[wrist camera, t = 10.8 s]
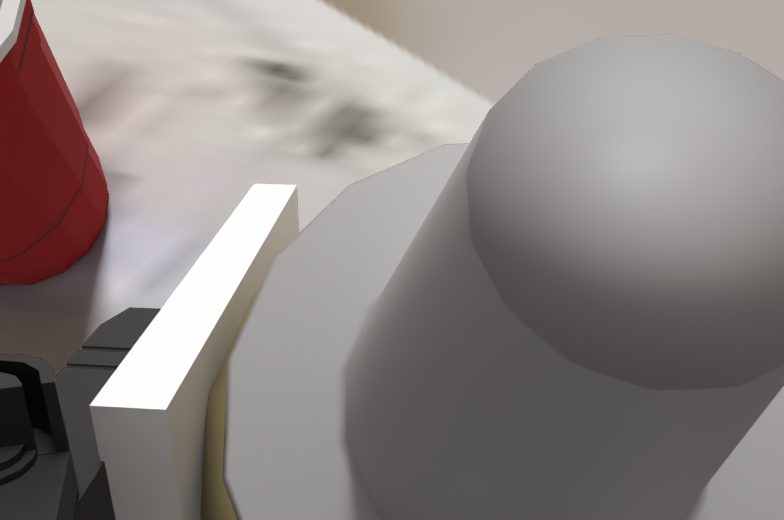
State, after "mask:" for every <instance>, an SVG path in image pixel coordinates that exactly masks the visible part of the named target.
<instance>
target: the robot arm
mask: <svg viewBox="0 0 784 520" xmlns="http://www.w3.org/2000/svg"><path fill="white" fill-rule="evenodd" d="M298 234H299V218H298V197H297V185H278V184H254V185H253V186H252V188H251V189H250V190H249V192H248V193H247V194H246V196H245V197H244V198H243V200H242V201H241V202H240V204H239V205H238V206H237V208H236V209H235V210H234V212H233V213H232V214H231V216H230V217H229V218H228V220H227V221H226V222H225V224H224V225H223V227H222V228H221V229H220V231H219V232H218V233H217V235H216V236H215V237H214V239H213V240H212V241H211V243H210V244H209V245H208V247H207V248H206V249H205V251H204V252H203V253H202V255H201V256H200V257H199V259H198V260H197V261H196V263H195V264H194V265H193V267H192V268H191V270H190V271H189V272H188V274H187V275H186V276H185V278H184V279H183V280H182V282H181V283H180V284H179V286H178V287H177V288H176V290H175V291H174V292H173V294H172V295H171V296H170V298H169V299H168V300H167V302H166V303H165V304H164V306H163V307H162V309H153V308H131V307H130V308H128V309H126V310H125V311H123V312H121V313H120V314H118V315H116V316H115V317H113V318H111V319H109V320H108V321H106V322H104V323H103V324H101V325H100V326H99V327H98V328H97V329H96V330H95V332H94V333H93V334H92V335H91V336H90V337H89V339H88V340H87V341H86V342H85V343H84V344H83V346H82V350H78V351H77V352H76V354H75V355H74V356H73V357H72V358H71V359H70V361H69V362H68V363H67V368H63V369H62V370H61V371H60V372H59V373H58V375H57V376H56V377H55V375H54V370H53V368H52V367H51V366H50V365H48V364H47V363H46V362H44V361H43V360H42V359H40V358H35V357H31V356H27V355H22V354H2V355H0V520H201V517H200V511H201V492H202V473H203V455H204V436H205V418H206V410H207V401H208V395H209V391H210V389H211V387H212V385H213V382H214V380H215V378H216V376H217V374H218V371H219V369H220V367H221V365H222V363H223V360H224V358H225V356H226V354H227V352H228V349H229V347H230V345H231V343H232V341H233V338H234V336H235V334H236V332H237V330H238V327H239V325H240V323H241V321H242V319H243V316H244V314H245V312H246V310H247V308H248V305H249V303H250V301H251V299H252V297H253V296H254V295H255V294H256V293H257V292H258V291H259V289H260V287H261V284H262V282H263V280H264V278H265V276H266V273H267V271H268V269H269V267H270V265H271V262H272V260H273V258H275V257H276V256H277V255H278V254H279V253H280V252H281V251H282V250H283V249H284V248H285V247H286V246H287V245H288V244H289V243H290V242H291V241H292V240H293V239H294V238H295V237H296V236H297V235H298Z"/></svg>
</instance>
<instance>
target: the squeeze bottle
mask: <svg viewBox="0 0 784 520" xmlns="http://www.w3.org/2000/svg"><path fill="white" fill-rule="evenodd" d="M200 517H201V520H784V81H783V80H781V79H780V78H778V77H777V76H776V75H774V74H772V73H771V72H769V71H768V70H766V69H765V68H763V67H762V66H760V65H759V64H757V63H755V62H754V61H752V60H751V59H749V58H748V57H746V56H745V55H743V54H742V53H739V52H735V51H732V50H727V49H724V48H720V47H717V46H712V45H709V44H705V43H701V42H698V41H694V40H690V39H686V38H683V37H679V36H675V35H671V34H659V35H643V36H625V37H609V38H608V37H607V38H597V39H595V40H592V41H590V42H588V43H585V44H583V45H580V46H578V47H576V48H573V49H571V50H569V51H566V52H564V53H562V54H559V55H557V56H555V57H552V58H550V59H548V60H545V61H543V62H540V63H538V64H536V65H535V66H534V67H532V68H531V70H530V71H528V73H527V74H525V76H524V77H522V79H520V80H519V81H518V82H517V83H516V85H514V87H512V88H511V89H510V90H509V91H508V92H507V93H506V94H505V95H504V96H503V97H502V98H501V99H500V101H498V102H497V103H496V104H495V105H494V106H493V107H492V108H491V109H490V110H489V112H488V113H487V115H486V117H485V119H484V120H483V122H482V124H481V125H480V127H479V129H478V130H477V132H476V134H475V135H474V137H473V139H472V141H471V142H470V143H463V144H445V145H442V146H440V147H437V148H435V149H433V150H430V151H428V152H426V153H423V154H421V155H419V156H416V157H414V158H412V159H409V160H407V161H405V162H402V163H400V164H398V165H395V166H393V167H391V168H388V169H386V170H384V171H381V172H379V173H377V174H374V175H372V176H370V177H367V178H365V179H363V180H360V181H358V182H356V183H353V184H351V185H349V186H348V187H347V188H346V189H345V190H344V191H343V192H342V193H340V194H339V195H338V196H337V197H336V198H335V199H334V200H333V201H332V202H331V203H330V204H329V205H328V206H327V207H326V208H325V209H324V210H323V211H322V212H321V213H320V214H319V215H318V216H317V217H316V218H315V219H314V220H313V221H312V222H311V223H310V224H309V225H308V226H306V227H305V228H304V229H303V230H302V231H301V232H300V233H299V234H298V235H297V236H296V237H295V238H294V239H293V240H292V241H291V242H290V243H289V244H288V245H287V246H286V247H285V248H284V249H283V250H282V251H281V252H280V253H279V254H278V255H277V256H276V257H275V258H273V260H272V262H271V265H270V267H269V269H268V271H267V273H266V276H265V278H264V280H263V282H262V284H261V287H260V289H259V291H258V292H257V293H256V294H255V295H254V296H253V297H252V299H251V301H250V303H249V305H248V308H247V310H246V312H245V314H244V316H243V319H242V321H241V323H240V325H239V327H238V330H237V332H236V334H235V336H234V338H233V341H232V343H231V345H230V347H229V349H228V352H227V354H226V356H225V358H224V360H223V363H222V365H221V367H220V369H219V371H218V374H217V376H216V378H215V380H214V382H213V385H212V387H211V389H210V391H209V395H208V401H207V410H206V418H205V436H204V455H203V473H202V492H201V511H200Z"/></svg>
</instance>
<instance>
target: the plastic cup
mask: <svg viewBox="0 0 784 520" xmlns="http://www.w3.org/2000/svg"><path fill="white" fill-rule="evenodd" d="M108 197H109V193H108V190H107V183H106V180H105V177H104V173H103V170H102V167H101V164H100V160H99V157H98V155H97V153H96V151H95V149H94V148H93V146H92V144H91V142H90V140H89V138H88V136H87V134H86V132H85V130H84V128H83V124H82V121H81V118H80V114H79V111H78V109H77V107H76V104H75V102H74V100H73V98H72V96H71V93H70V91H69V89H68V87H67V85H66V82H65V80H64V78H63V76H62V74H61V71H60V69H59V67H58V65H57V63H56V60H55V58H54V56H53V54H52V52H51V49H50V47H49V45H48V43H47V41H46V39H45V36H44V34H43V32H42V30H41V28H40V25H39V23H38V21H37V19H36V17H35V14H34V10H33V7H32V3H31V0H0V284H1V285H5V284H34V283H37V282H39V281H42V280H44V279H47V278H50V277H52V276H55V275H57V274H60V273H62V272H64V271H65V270H67V269H68V268H69V267H70V266H71V265H72V264H74V263H75V262H76V261H77V260H78V259H80V258H81V257H82V256H83V255H84V254H85V253H87V252H88V251H89V250H90V248H91V246H92V244H93V243H94V241H95V239H96V238H97V236H98V234H99V232H100V231H101V229H102V227H103V225H104V224H105V218H106V211H107V204H108Z"/></svg>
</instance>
